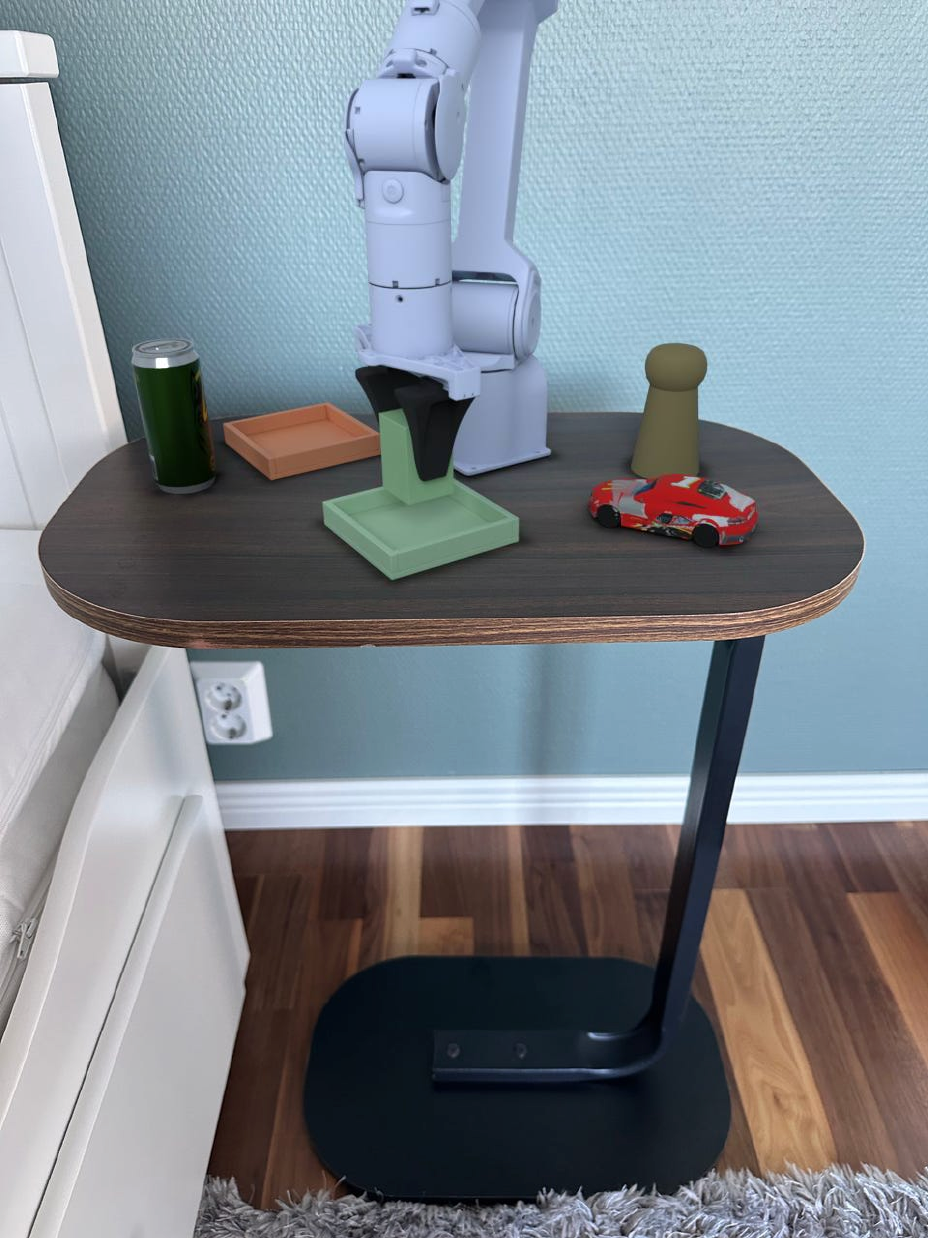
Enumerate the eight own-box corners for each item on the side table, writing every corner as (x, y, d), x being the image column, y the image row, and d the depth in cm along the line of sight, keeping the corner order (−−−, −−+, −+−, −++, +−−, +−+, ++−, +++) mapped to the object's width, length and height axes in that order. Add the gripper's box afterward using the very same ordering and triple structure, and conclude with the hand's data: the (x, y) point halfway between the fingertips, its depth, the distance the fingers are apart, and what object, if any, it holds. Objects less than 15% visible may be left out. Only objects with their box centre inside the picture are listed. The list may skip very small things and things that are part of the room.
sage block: (427, 476, 75) (424, 402, 72) (454, 493, 72) (453, 417, 69) (382, 488, 73) (378, 412, 70) (408, 506, 70) (405, 428, 67)
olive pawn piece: (683, 487, 81) (699, 359, 76) (619, 472, 84) (629, 349, 79) (709, 464, 86) (725, 342, 80) (647, 451, 89) (658, 332, 83)
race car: (577, 523, 76) (579, 476, 74) (602, 498, 80) (605, 453, 78) (741, 558, 70) (749, 508, 68) (760, 529, 74) (767, 482, 72)
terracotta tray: (330, 420, 97) (328, 401, 96) (382, 454, 89) (381, 433, 88) (225, 442, 92) (222, 423, 91) (271, 480, 84) (268, 459, 83)
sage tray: (442, 492, 81) (442, 470, 80) (519, 541, 73) (519, 517, 72) (324, 524, 76) (321, 501, 75) (392, 580, 68) (390, 555, 67)
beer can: (167, 500, 80) (140, 359, 74) (147, 480, 84) (120, 344, 78) (227, 486, 83) (206, 348, 76) (205, 466, 86) (184, 334, 80)
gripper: (311, 269, 68) (327, 449, 75) (413, 308, 57) (420, 513, 64) (397, 258, 71) (404, 431, 78) (508, 293, 61) (505, 490, 68)
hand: (417, 467), depth 71 cm, fingers closed on sage block, 4 cm apart
